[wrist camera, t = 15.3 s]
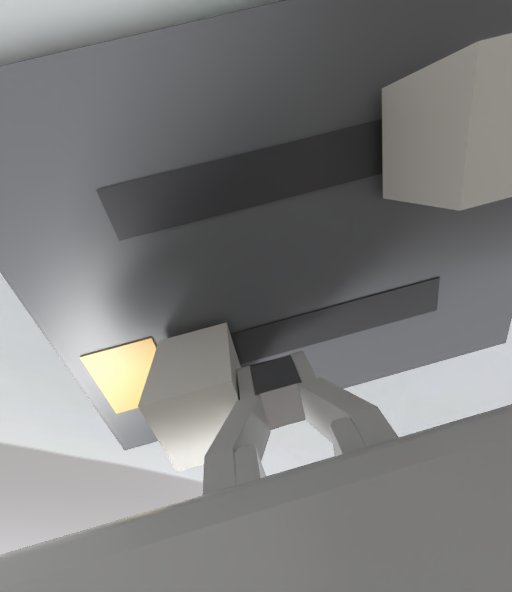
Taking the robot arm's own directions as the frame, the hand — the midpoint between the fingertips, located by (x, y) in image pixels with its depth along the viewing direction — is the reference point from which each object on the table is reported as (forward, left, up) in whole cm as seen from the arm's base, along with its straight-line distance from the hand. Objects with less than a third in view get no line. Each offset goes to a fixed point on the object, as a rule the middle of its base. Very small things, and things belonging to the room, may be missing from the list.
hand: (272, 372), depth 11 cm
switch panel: (-3, +2, -4) cm, 6 cm away
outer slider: (0, -3, -2) cm, 3 cm away
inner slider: (-7, +7, -2) cm, 10 cm away
